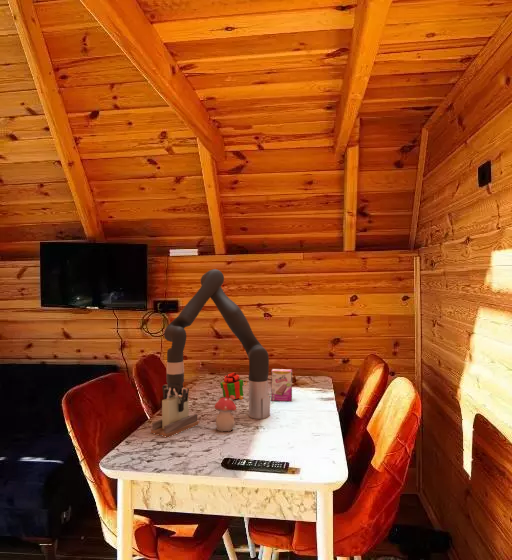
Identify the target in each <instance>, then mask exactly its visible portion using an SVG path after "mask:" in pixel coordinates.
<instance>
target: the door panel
mask: <svg viewBox="0 0 512 560" xmlns="http://www.w3.org/2000/svg"><path fill="white" fill-rule="evenodd" d="M179 396H180V395H179ZM180 399H181V398H180ZM189 399H190V398H189V394H188V401H187V402H184V410H183V411H182V412H179V406H178V404H179V402H178V399H177V398H176V396H175V395H174V396H173V397H171V398H168V399H162V400H161V419H162V429H164V426H165V425H168V424H171V423H173V422H176V421H178V420H181V419H183V418H186V417H188V416H190V413H189V405H190V404H189V403H190V402H189Z"/></svg>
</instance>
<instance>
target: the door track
mask: <svg viewBox="0 0 512 560" xmlns="http://www.w3.org/2000/svg"><path fill="white" fill-rule="evenodd" d="M151 424H152V425H151V429H150V434H152V433H155V434H154V435H156V434H159V435H163V436H166V437H165V438H167V437H169V436H171V437H173V436H175V435H174V434H176V433H178V434H180V433H182V432H181V431H183V432H184V430H185V431H187V430H189V429H188V428H190V429H192V428H193V426H194V427H197V426H199V425H198V424H200V421H199V420H198V414H197V413H194V414H191V415H189V416H188V417H186V418H183V419H181V420H178V421H176V422H173V423H171V424H168V425H165V426H164V429H162V418H161V419H159V420H156V421H153V422H152V423H151ZM196 425H197V426H196ZM191 427H192V428H191ZM186 429H187V430H186ZM179 432H180V433H179ZM159 435H158V436H159ZM172 435H173V436H172ZM176 435H177V434H176ZM163 436H162V437H163ZM169 438H170V437H169Z"/></svg>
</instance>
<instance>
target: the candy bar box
mask: <svg viewBox="0 0 512 560" xmlns="http://www.w3.org/2000/svg"><path fill="white" fill-rule="evenodd" d="M270 380H271V381H270V382H271V390H270V391H271V395H270V402H292V400H293V369H283V368H281V369H280V368H272V369H271V379H270Z"/></svg>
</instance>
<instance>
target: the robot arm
mask: <svg viewBox="0 0 512 560" xmlns="http://www.w3.org/2000/svg"><path fill="white" fill-rule="evenodd" d="M224 282H225V277H224V274H223V272H222V271H221V270H219V269H215V268H214V269H210V270H208V271H206V272H205V273H203V274H202V276H201V277H200V288H199V289H198V291H196V293H195V294H194V295H193V296H192V297H191V298H190V300H188V302H187V303H186V304H185V306H184V307H183V308H182V310H181V311H180V312H179V314H178V316H176V317H175V318H174V319H173V320H172V321H171V322H170V323H169V324H168V325H167V326H166V327H165V330H164V332H163V336H164V339H165V340H166V341H167V342H171V347H170V348H168V349H167V351H166V352H167V353H166V383H167V384H163V385H162V387H161V389H162V395H163V397H162V398H163V400H165V399H168V398H171V397H174V396H176V398H177V399H178V402H179V404H178V406H179V412H182V411H183V410H184V402H187V401H188V395H189V390H190V389H189V387H185V386H184V382H185V364H184V351H185V346H186V342H187V332H186V329H185V328H186V327H190V326H192V324H194V321H195V320H196V319H197V317H198V316H199V314H200V312H201V311H202V310H203V308H204V306H205V305H206V303H208V301H209V299H211V301H212V302H213V303H214V305H215V307H216V308H217V310H218V312H219V313H220V314H221V316H222V318H223V320H224V321H225V322H224V323H226V325H227V326H228V328H229V329H230V331H231V332H232V333H233V335H234V336H235V337H236V338H237V339H238V340H239V342H240V343H241V345H242V346H243V347H242V348H244V351H245V352H246V355H247V357H248V364H249V365H248V366H249V367H248V368H249V369H248V370H249V371H248V417H249V418H251V419H255V420H256V419H257V420H258V419H261V420H265V419H267V418H268V417H270V416H271V395H269V374H270V373H269V371H270V369H269V368H270V361H269V360H270V358H269V352H268V351H267V349H266V348H265V347H264V346H263V345H262V343H261V342H260V341H259V340H258V339H257V337H256V335H255V334H254V332H253V331H252V328H251V326H250V323H249V321H248V319H247V317H246V316H245V314H244V313H243V311H242V309H241V308H240V307H239V305H237V304H236V303H235V302H234V301H233V300H232V299H231V298H230V297H228V296H227V294H226V293H225V291H224V290H223V288H222V286H223V284H224ZM179 395H180V396H179ZM180 398H181V399H180Z"/></svg>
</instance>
